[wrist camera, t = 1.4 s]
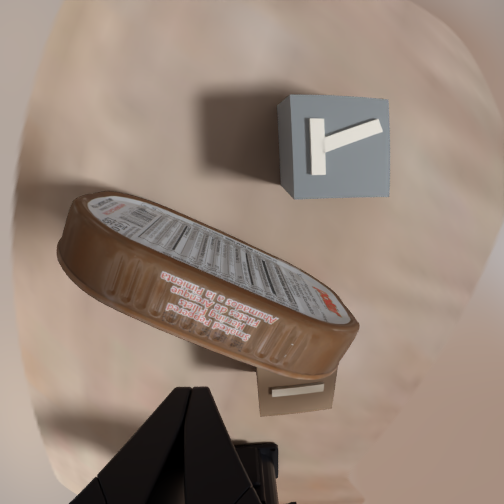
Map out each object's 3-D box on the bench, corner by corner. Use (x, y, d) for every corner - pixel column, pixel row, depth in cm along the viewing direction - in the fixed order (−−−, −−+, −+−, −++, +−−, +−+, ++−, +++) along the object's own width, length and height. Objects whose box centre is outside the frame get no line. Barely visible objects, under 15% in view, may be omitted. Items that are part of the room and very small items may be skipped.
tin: (97, 219, 18) (18, 275, 10) (113, 171, 17) (31, 200, 9) (314, 314, 21) (351, 406, 13) (338, 274, 20) (393, 355, 12)
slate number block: (355, 182, 18) (391, 197, 13) (280, 184, 18) (295, 200, 13) (354, 107, 16) (390, 99, 12) (276, 105, 16) (290, 93, 12)
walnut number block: (317, 365, 22) (332, 410, 18) (256, 371, 22) (260, 418, 18) (320, 313, 21) (340, 356, 16) (252, 319, 21) (257, 365, 16)
